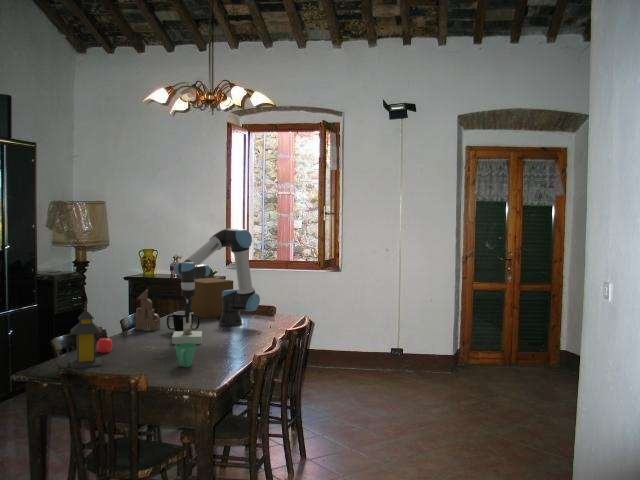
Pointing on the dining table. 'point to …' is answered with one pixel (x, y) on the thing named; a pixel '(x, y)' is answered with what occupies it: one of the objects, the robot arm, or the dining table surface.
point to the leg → (186, 331)
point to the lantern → (85, 342)
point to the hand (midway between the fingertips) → (187, 326)
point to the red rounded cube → (104, 345)
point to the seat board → (187, 337)
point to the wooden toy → (141, 314)
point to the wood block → (209, 297)
